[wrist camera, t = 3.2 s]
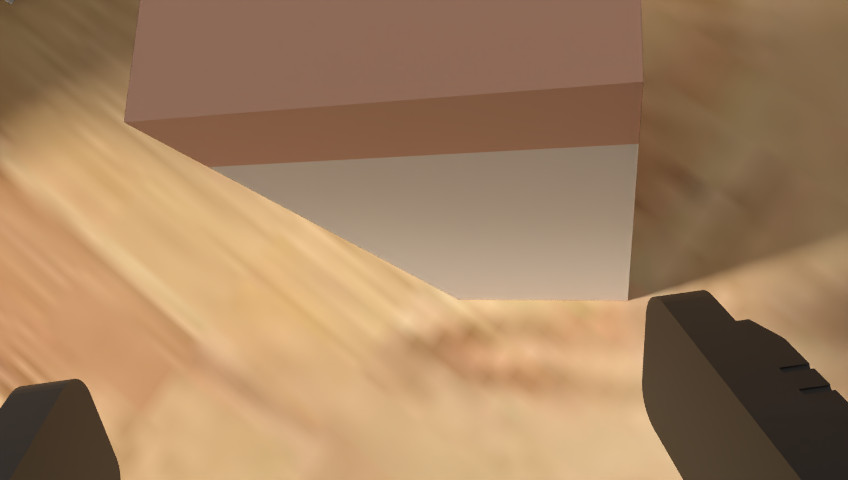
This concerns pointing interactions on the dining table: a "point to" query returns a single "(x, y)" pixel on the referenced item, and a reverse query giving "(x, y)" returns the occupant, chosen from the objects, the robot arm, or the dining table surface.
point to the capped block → (417, 127)
